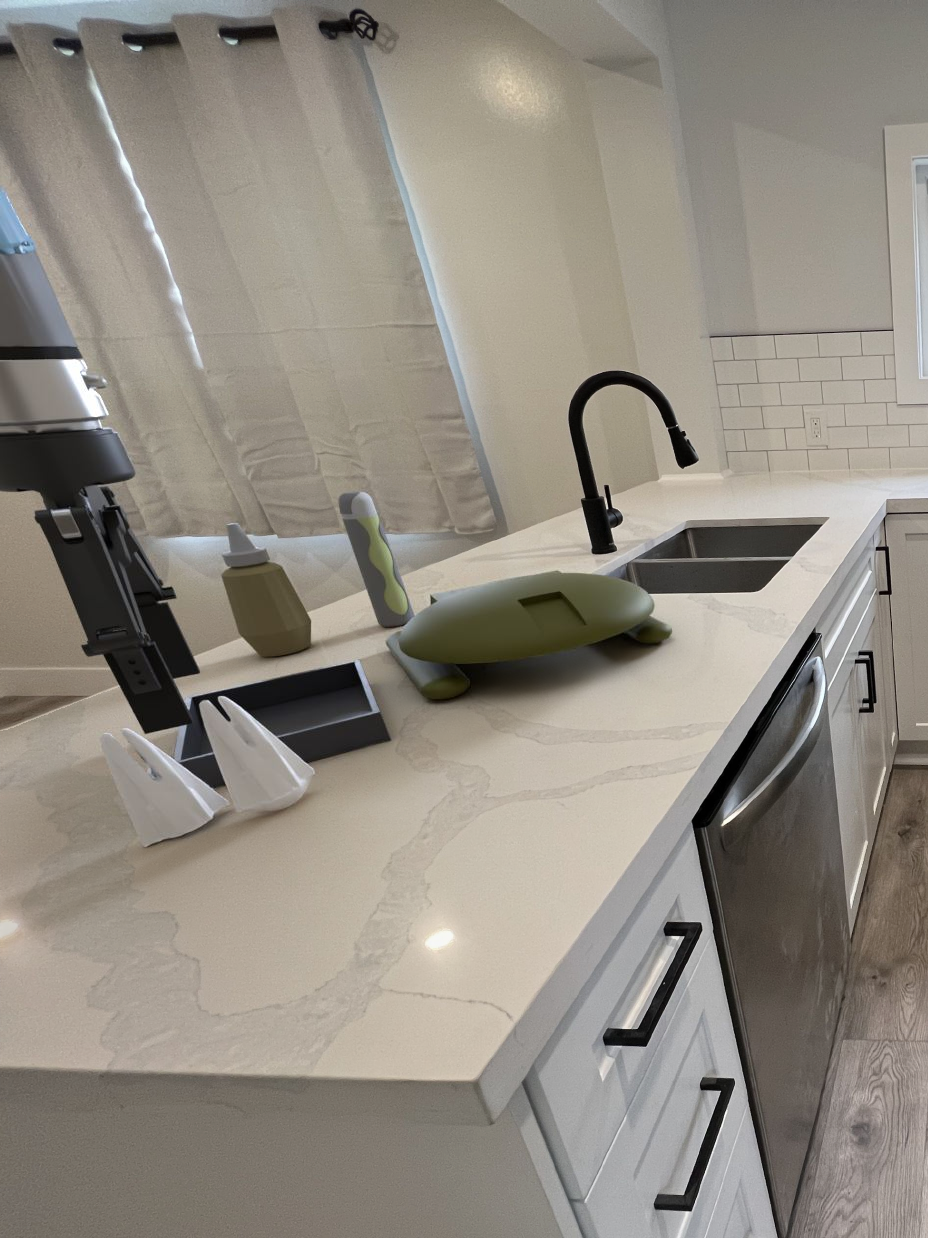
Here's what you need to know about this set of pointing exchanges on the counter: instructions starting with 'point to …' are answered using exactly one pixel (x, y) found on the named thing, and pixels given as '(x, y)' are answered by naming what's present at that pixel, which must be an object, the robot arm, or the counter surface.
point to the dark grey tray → (292, 716)
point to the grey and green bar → (375, 559)
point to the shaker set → (184, 802)
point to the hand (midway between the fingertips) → (175, 700)
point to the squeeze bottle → (263, 599)
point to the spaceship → (518, 624)
